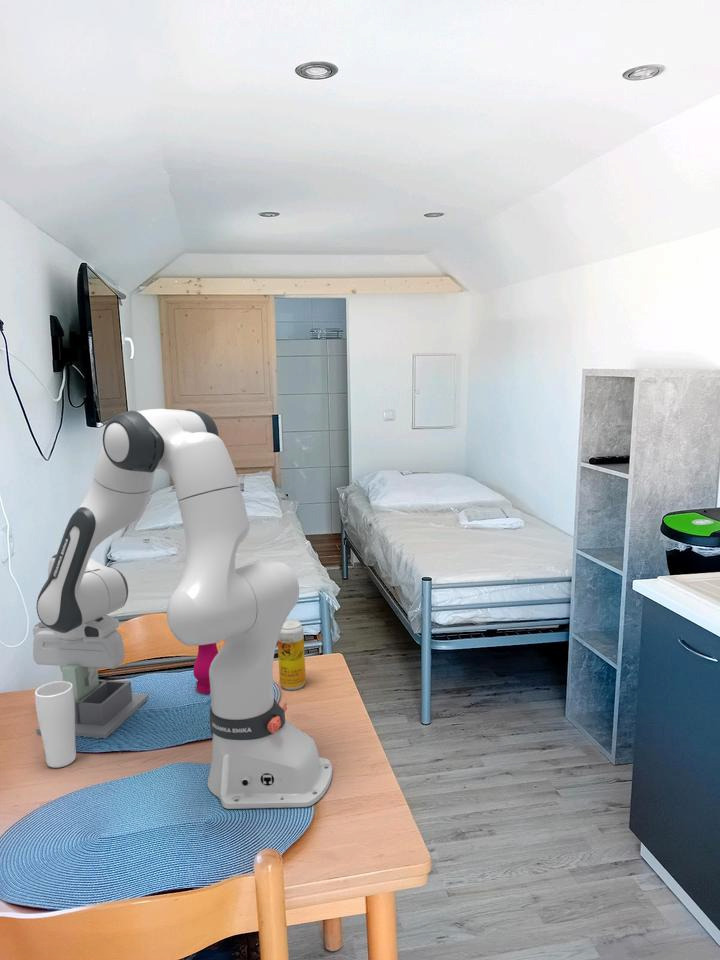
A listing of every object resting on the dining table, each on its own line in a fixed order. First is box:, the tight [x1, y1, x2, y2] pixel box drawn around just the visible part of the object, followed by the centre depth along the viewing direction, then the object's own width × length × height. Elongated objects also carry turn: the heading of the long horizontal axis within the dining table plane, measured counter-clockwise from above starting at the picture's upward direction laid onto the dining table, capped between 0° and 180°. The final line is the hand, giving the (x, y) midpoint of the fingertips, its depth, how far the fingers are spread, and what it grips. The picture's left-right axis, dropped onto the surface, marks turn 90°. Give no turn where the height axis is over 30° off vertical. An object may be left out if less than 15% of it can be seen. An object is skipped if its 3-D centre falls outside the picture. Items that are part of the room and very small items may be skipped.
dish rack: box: [35, 678, 150, 739], centre depth 154 cm, size 16×18×6 cm
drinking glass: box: [34, 680, 77, 769], centre depth 135 cm, size 7×7×15 cm
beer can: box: [277, 619, 307, 691], centre depth 165 cm, size 6×6×15 cm
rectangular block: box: [61, 664, 99, 702], centre depth 154 cm, size 3×8×10 cm, turn 168°
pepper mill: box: [192, 643, 219, 695], centre depth 164 cm, size 7×7×20 cm
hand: (81, 684), depth 154 cm, fingers open, 3 cm apart
